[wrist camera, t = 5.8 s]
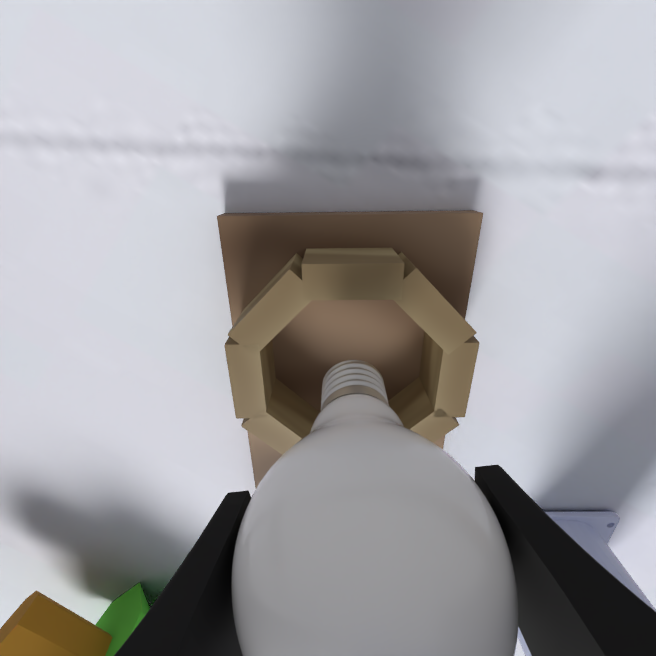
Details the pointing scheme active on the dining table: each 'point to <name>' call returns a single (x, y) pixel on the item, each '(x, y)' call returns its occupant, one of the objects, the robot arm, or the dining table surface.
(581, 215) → the dining table surface
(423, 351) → the jig
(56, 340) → the dining table surface
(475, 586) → the lightbulb
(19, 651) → the decorative tree
